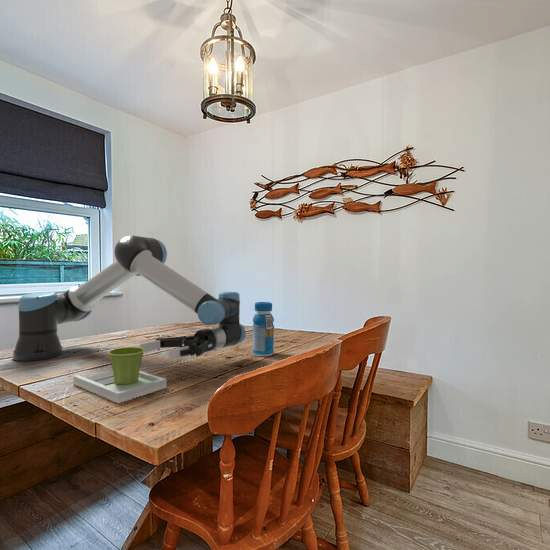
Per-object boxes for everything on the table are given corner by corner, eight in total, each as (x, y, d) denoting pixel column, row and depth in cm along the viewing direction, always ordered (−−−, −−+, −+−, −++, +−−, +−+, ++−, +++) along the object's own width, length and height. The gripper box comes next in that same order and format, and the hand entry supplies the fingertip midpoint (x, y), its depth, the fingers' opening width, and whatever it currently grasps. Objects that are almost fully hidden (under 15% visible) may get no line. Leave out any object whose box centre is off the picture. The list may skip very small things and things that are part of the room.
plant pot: (136, 374, 102) (137, 345, 102) (150, 382, 95) (150, 351, 95) (103, 381, 95) (103, 350, 95) (114, 390, 89) (114, 356, 88)
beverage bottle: (251, 356, 128) (251, 303, 128) (252, 351, 137) (253, 301, 137) (273, 357, 128) (274, 303, 128) (274, 351, 137) (274, 301, 136)
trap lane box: (73, 384, 96) (73, 376, 96) (120, 372, 108) (120, 364, 108) (118, 403, 83) (118, 393, 83) (166, 387, 94) (166, 379, 94)
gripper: (236, 356, 108) (182, 372, 91) (184, 345, 123) (130, 357, 106) (236, 332, 108) (182, 344, 91) (184, 324, 123) (130, 333, 106)
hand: (154, 351), depth 98 cm, fingers open, 13 cm apart
